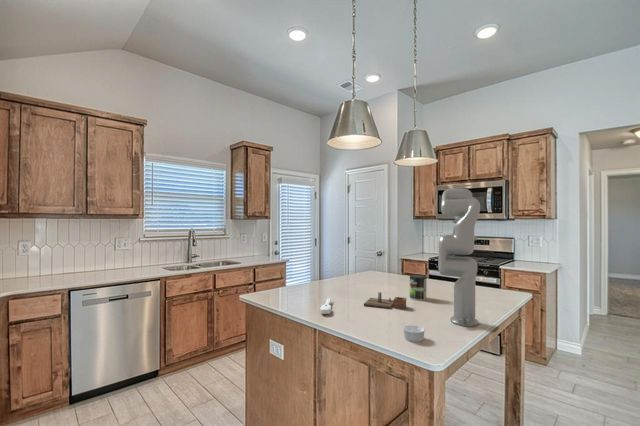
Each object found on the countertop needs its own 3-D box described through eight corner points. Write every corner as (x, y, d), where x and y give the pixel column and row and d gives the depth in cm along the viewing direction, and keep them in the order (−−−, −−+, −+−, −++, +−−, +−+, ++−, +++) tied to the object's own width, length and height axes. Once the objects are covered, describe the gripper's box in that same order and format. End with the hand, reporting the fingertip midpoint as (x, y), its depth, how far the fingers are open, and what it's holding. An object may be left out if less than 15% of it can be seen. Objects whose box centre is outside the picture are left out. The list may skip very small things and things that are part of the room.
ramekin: (415, 344, 129) (415, 333, 129) (398, 337, 136) (398, 327, 136) (429, 339, 134) (429, 329, 134) (411, 333, 141) (411, 323, 141)
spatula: (324, 302, 193) (324, 297, 193) (334, 302, 192) (334, 297, 193) (319, 314, 165) (319, 309, 165) (330, 315, 165) (330, 309, 165)
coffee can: (417, 301, 194) (417, 278, 194) (406, 297, 203) (406, 275, 203) (430, 299, 198) (430, 276, 198) (418, 295, 208) (418, 273, 208)
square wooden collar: (404, 309, 177) (404, 300, 177) (393, 308, 179) (393, 299, 179) (407, 304, 186) (407, 296, 186) (396, 303, 188) (396, 295, 188)
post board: (390, 309, 177) (390, 297, 178) (363, 306, 183) (363, 294, 183) (395, 302, 191) (395, 291, 191) (370, 299, 197) (370, 288, 197)
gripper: (446, 222, 197) (446, 250, 197) (477, 222, 190) (477, 251, 190) (446, 222, 204) (446, 249, 204) (477, 222, 197) (477, 250, 197)
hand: (461, 250), depth 197 cm, fingers open, 9 cm apart
